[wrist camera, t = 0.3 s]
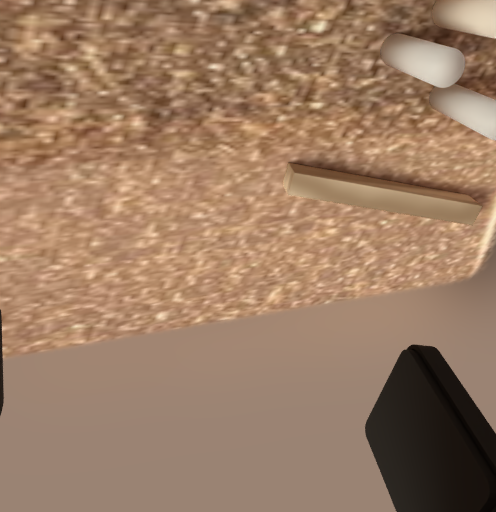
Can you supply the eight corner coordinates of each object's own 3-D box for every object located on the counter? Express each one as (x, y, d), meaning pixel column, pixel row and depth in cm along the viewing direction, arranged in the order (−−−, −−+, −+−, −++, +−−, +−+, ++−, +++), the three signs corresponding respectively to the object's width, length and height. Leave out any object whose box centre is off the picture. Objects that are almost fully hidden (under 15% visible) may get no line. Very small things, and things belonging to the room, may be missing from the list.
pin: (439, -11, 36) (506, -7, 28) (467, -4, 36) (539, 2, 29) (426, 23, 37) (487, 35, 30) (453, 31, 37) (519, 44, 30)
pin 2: (436, 78, 39) (494, 102, 32) (461, 84, 40) (524, 109, 32) (424, 107, 40) (478, 136, 33) (449, 112, 41) (508, 143, 33)
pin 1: (386, 30, 37) (437, 43, 29) (414, 37, 37) (471, 52, 30) (375, 62, 38) (422, 83, 31) (402, 68, 38) (455, 91, 31)
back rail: (288, 162, 41) (294, 172, 39) (468, 195, 45) (482, 206, 43) (282, 183, 42) (287, 195, 40) (458, 213, 46) (472, 225, 44)
